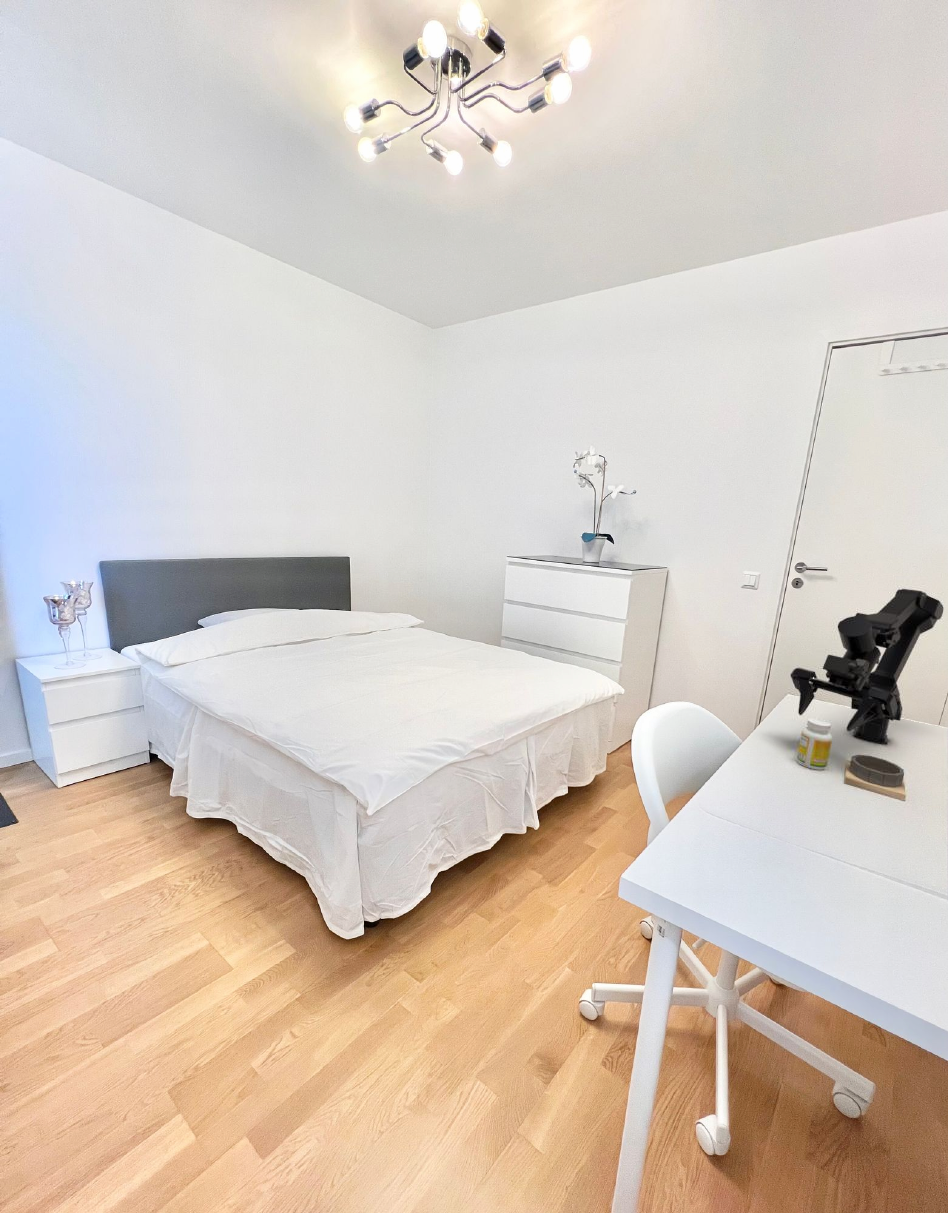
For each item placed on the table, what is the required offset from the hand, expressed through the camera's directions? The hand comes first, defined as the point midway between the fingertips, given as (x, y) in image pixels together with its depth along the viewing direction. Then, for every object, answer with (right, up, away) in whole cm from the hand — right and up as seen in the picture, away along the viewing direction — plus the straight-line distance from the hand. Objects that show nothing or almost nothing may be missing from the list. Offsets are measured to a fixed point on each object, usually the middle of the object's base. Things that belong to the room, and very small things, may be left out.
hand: (822, 721), depth 107 cm
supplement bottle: (-2, -9, +1) cm, 10 cm away
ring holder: (+6, -11, -6) cm, 14 cm away
